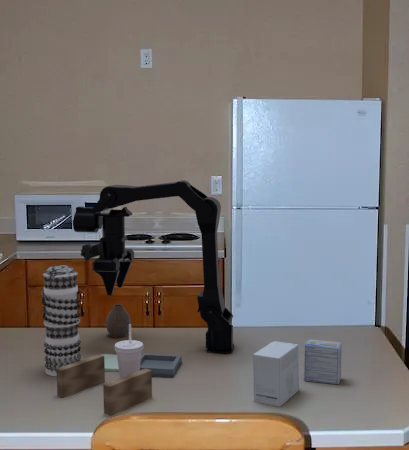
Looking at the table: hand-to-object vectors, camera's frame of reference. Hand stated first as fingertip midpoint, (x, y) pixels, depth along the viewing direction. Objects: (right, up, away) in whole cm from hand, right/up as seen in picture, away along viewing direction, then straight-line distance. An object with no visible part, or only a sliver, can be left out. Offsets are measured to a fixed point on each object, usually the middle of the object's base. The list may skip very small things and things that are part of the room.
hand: (114, 291), depth 172 cm
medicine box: (+51, -18, -24) cm, 59 cm away
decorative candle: (-10, -17, -17) cm, 26 cm away
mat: (+2, -16, -13) cm, 21 cm away
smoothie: (+7, -19, -28) cm, 34 cm away
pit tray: (+13, -17, -17) cm, 27 cm away
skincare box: (+39, -19, -33) cm, 55 cm away
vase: (0, -14, +10) cm, 17 cm away
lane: (+2, -19, -34) cm, 39 cm away
